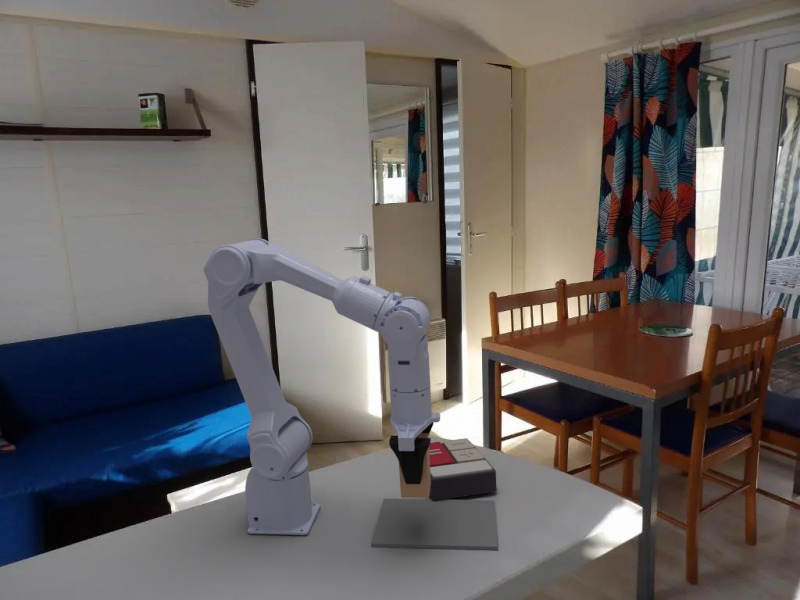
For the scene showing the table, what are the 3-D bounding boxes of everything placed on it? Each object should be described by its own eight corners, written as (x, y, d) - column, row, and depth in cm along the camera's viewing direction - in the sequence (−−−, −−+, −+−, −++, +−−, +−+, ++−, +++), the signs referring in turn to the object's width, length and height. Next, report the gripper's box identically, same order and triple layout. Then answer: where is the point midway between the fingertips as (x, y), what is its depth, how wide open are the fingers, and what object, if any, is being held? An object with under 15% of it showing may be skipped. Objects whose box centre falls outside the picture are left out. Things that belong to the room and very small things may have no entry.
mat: (371, 546, 83) (371, 543, 83) (383, 501, 95) (383, 498, 95) (498, 550, 81) (497, 546, 81) (494, 503, 92) (494, 500, 92)
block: (400, 497, 82) (397, 445, 81) (404, 483, 86) (401, 433, 85) (428, 498, 82) (426, 445, 80) (430, 483, 86) (428, 433, 84)
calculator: (468, 435, 109) (496, 466, 94) (469, 457, 109) (497, 491, 95) (411, 442, 107) (430, 475, 92) (413, 465, 107) (432, 501, 93)
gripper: (434, 405, 73) (439, 502, 76) (441, 368, 87) (445, 451, 90) (380, 405, 74) (386, 501, 77) (395, 369, 88) (400, 451, 91)
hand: (414, 474), depth 84 cm, fingers closed on block, 4 cm apart
